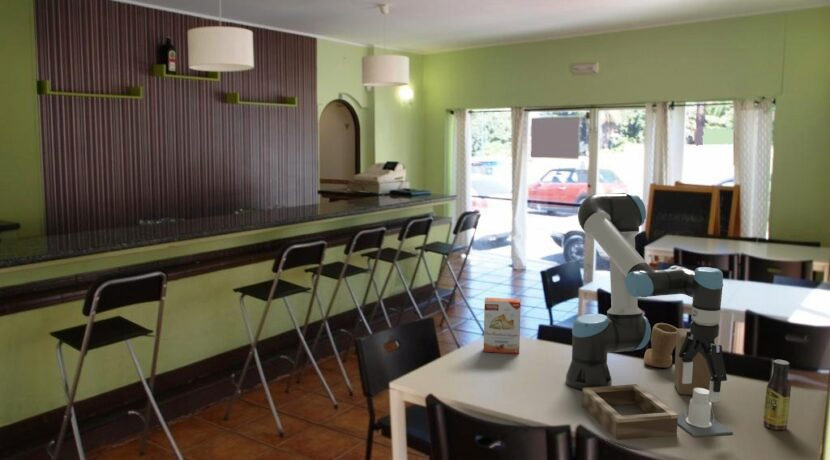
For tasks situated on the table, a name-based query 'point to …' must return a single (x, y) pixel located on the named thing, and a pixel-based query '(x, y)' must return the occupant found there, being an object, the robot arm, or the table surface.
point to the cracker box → (502, 325)
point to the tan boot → (661, 345)
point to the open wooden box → (629, 426)
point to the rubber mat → (698, 431)
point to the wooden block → (700, 368)
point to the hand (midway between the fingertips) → (699, 392)
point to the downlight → (699, 409)
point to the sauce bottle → (777, 397)
